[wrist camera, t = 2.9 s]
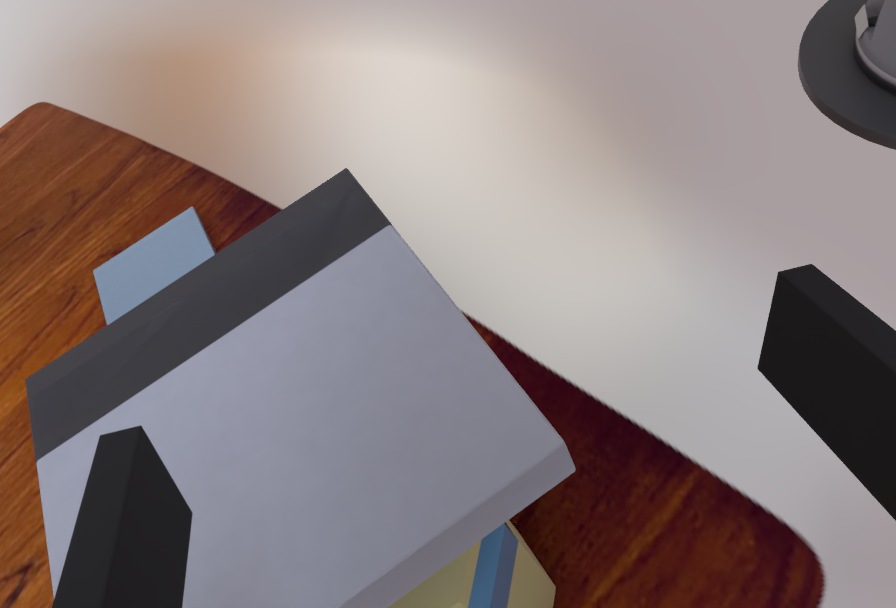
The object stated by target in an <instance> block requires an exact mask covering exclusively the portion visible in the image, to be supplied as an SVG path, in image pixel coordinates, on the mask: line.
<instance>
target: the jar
mask: <svg viewBox="0 0 896 608" xmlns="http://www.w3.org/2000/svg"><path fill="white" fill-rule="evenodd" d="M555 590H556V587H555V585H554V584H553V582H552V581H551V579H550V578H549V576H548V575H547V573H546V572H545V570H544V569H543V568H542V566H541V565H540V563H539V562H538V560H537V559H536V557H535V556H534V554H533V553H532V551H531V550H530V548H529V547H528V545H527V544H526V543H525V541H524V540H523V538H522V537H521V535H520V534H519V532H518V531H517V530H516V528H515V527H514V526H513V525H512V523H511V522H510V521H509V520H507V521H506V522H505V523H503V524H502V525H501V526H499V527H498V528H496V529H495V530H494V531H492V532H491V533H490V534H488V535H487V536H485V537H484V538H483V539H481V540H480V541H479V542H477V543H476V544H474V545H473V546H472V547H470V548H469V549H468V550H466V551H465V552H463V553H462V554H461V555H459V556H458V557H457V558H455V559H454V560H452V561H451V562H450V563H448V564H447V565H445V566H444V567H443V568H441V569H440V570H439V571H437V572H436V573H434V574H433V575H432V576H430V577H429V578H428V579H426V580H425V581H423V582H422V583H421V584H419V585H418V586H417V587H415V588H414V589H412V590H411V591H410V592H408V593H407V594H406V595H404V596H403V597H401V598H400V599H399V600H397V601H396V602H395V603H393V604H392V605H390V606H389V607H388V608H553V604H554V597H555Z"/></svg>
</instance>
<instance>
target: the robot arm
mask: <svg viewBox="0 0 896 608" xmlns="http://www.w3.org/2000/svg"><path fill="white" fill-rule="evenodd" d="M855 24H856V34H855V39H854V55H855V58H856V61H857V63H858V65H859V67H860V68H861V70H862V71H863V72H864V73H865V75H867V76H868V77H869V78H870V79H871V80H872V81H873V82H874V83H876V84H877V85H879V86H880V87H882V88H883V89H885V90H887V91H889V92H891V93H893V94H895V95H896V0H868V1H867V3H866V5H865V4H864V5H863V6H862V8H861V9H860V10H859V12H858V13H857V14H856V16H855ZM758 370H759V371H760V372H761V373H762V374H763V375H764V376H765V377H766V378H767V380H768V381H769V382H770V383H771V384H772V385H773V386H774V387H775V388H776V389H777V391H778V392H779V393H780V394H781V395H782V396H783V397H784V398H785V399H786V400H787V402H788V403H789V404H790V405H791V406H792V407H793V408H794V409H795V410H796V411H797V413H798V414H799V415H800V416H801V417H802V418H803V419H804V420H805V421H806V422H807V424H808V425H809V426H810V427H811V428H812V429H813V430H814V431H815V432H816V433H817V434H818V436H819V437H820V438H821V439H822V440H823V441H824V442H825V443H826V444H827V446H829V448H830V449H831V450H832V451H833V452H834V453H835V454H836V455H837V457H838V458H839V459H840V460H841V461H842V462H843V463H844V464H845V465H846V466H847V467H848V469H849V470H850V471H851V472H852V473H853V474H854V475H855V476H856V477H857V478H858V480H859V481H860V482H861V483H862V484H863V485H864V486H865V487H866V488H867V490H868V491H869V492H870V493H871V494H872V495H873V496H874V497H875V498H876V499H877V501H878V502H879V503H880V504H881V505H882V506H883V507H884V508H885V509H886V510H887V512H888V513H889V514H890V515H891V516H892V517H893V518H894V519H895V520H896V331H895V330H894V329H893V328H891V327H890V326H889V325H888V324H886V323H885V322H884V321H882V320H881V319H880V318H879V317H878V316H876V315H875V314H874V313H873V312H871V311H870V310H869V309H867V308H866V307H865V306H864V305H863V304H861V303H860V302H858V300H856V299H855V298H854V297H853V296H851V295H850V294H849V293H848V292H846V291H845V290H844V289H842V288H841V287H840V286H839V285H837V284H836V283H835V282H834V281H832V280H831V279H830V278H829V277H827V276H826V275H825V274H824V273H822V272H821V271H820V270H819V269H817V268H816V267H815V266H814V265H812V264H809V265H805V266H801V267H797V268H793V269H789V270H784V271H780V272H778V276H777V281H776V285H775V290H774V294H773V299H772V304H771V309H770V313H769V317H768V322H767V327H766V331H765V336H764V341H763V345H762V350H761V355H760V359H759V364H758ZM192 515H193V513H192V511H191V509H190V508H189V506H188V504H187V503H186V501H185V499H184V497H183V496H182V494H181V492H180V491H179V489H178V487H177V486H176V484H175V482H174V480H173V479H172V477H171V475H170V474H169V472H168V470H167V468H166V467H165V465H164V463H163V462H162V460H161V458H160V456H159V455H158V453H157V451H156V450H155V448H154V446H153V444H152V443H151V441H150V439H149V438H148V436H147V434H146V433H145V431H144V429H143V427H142V426H141V425H140V426H136V427H132V428H128V429H124V430H120V431H116V432H111V433H107V434H103V435H100V437H99V440H98V444H97V448H96V451H95V455H94V458H93V462H92V466H91V469H90V473H89V476H88V480H87V483H86V487H85V491H84V494H83V498H82V501H81V505H80V509H79V512H78V516H77V519H76V523H75V527H74V530H73V534H72V537H71V541H70V545H69V548H68V552H67V555H66V559H65V563H64V566H63V570H62V573H61V577H60V581H59V584H58V588H57V591H56V595H55V599H54V602H53V606H52V608H182V605H183V596H184V587H185V578H186V569H187V560H188V551H189V542H190V533H191V524H192Z"/></svg>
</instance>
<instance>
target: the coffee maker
mask: <svg viewBox="0 0 896 608" xmlns="http://www.w3.org/2000/svg"><path fill="white" fill-rule="evenodd" d="M25 381H26V389H27V397H28V404H29V412H30V420H31V428H32V436H33V444H34V451H35V459H36V463H37V470H38V478H39V486H40V494H41V501H42V509H43V517H44V525H45V532H46V540H47V548H48V556H49V564H50V571H51V579H52V587H53V595H54V599H55V595H56V591H57V588H58V584H59V581H60V577H61V573H62V570H63V566H64V563H65V559H66V555H67V552H68V548H69V545H70V541H71V537H72V534H73V530H74V527H75V523H76V519H77V516H78V512H79V509H80V505H81V501H82V498H83V494H84V491H85V487H86V483H87V480H88V476H89V473H90V469H91V466H92V462H93V458H94V455H95V451H96V448H97V444H98V440H99V437H100V435H103V434H107V433H111V432H116V431H120V430H124V429H128V428H132V427H136V426H140V425H141V426H142V427H143V429H144V431H145V433H146V434H147V436H148V438H149V439H150V441H151V443H152V444H153V446H154V448H155V450H156V451H157V453H158V455H159V456H160V458H161V460H162V462H163V463H164V465H165V467H166V468H167V470H168V472H169V474H170V475H171V477H172V479H173V480H174V482H175V484H176V486H177V487H178V489H179V491H180V492H181V494H182V496H183V497H184V499H185V501H186V503H187V504H188V506H189V508H190V509H191V511H192V513H193V515H192V524H191V533H190V542H189V551H188V560H187V569H186V578H185V587H184V596H183V605H182V608H388V607H389V606H390V605H392V604H393V603H395V602H396V601H397V600H399V599H400V598H401V597H403V596H404V595H406V594H407V593H408V592H410V591H411V590H412V589H414V588H415V587H417V586H418V585H419V584H421V583H422V582H423V581H425V580H426V579H428V578H429V577H430V576H432V575H433V574H434V573H436V572H437V571H439V570H440V569H441V568H443V567H444V566H445V565H447V564H448V563H450V562H451V561H452V560H454V559H455V558H457V557H458V556H459V555H461V554H462V553H463V552H465V551H466V550H468V549H469V548H470V547H472V546H473V545H474V544H476V543H477V542H479V541H480V540H481V539H483V538H484V537H485V536H487V535H488V534H490V533H491V532H492V531H494V530H495V529H496V528H498V527H499V526H501V525H502V524H503V523H505V522H506V521H507V520H509V519H510V518H512V517H513V516H514V515H516V514H517V513H518V512H520V511H521V510H523V509H524V508H525V507H527V506H528V505H530V504H531V503H532V502H534V501H535V500H536V499H538V498H539V497H541V496H542V495H543V494H545V493H546V492H547V491H549V490H550V489H552V488H553V487H554V486H556V485H557V484H558V483H560V482H561V481H563V480H564V479H565V478H567V477H568V476H569V475H571V474H572V473H574V472H575V470H576V468H575V465H574V463H573V461H572V458H571V456H570V454H569V451H568V449H567V447H566V444H565V442H564V440H563V439H562V438H561V437H560V435H559V434H558V433H557V432H556V430H555V429H554V428H553V427H552V425H551V424H550V423H549V422H548V420H547V419H546V418H545V417H544V415H543V414H542V413H541V412H540V410H539V409H538V408H537V407H536V405H535V404H534V403H533V401H532V400H531V399H530V398H529V396H528V395H527V394H526V393H525V391H524V390H523V389H522V388H521V386H520V385H519V384H518V383H517V381H516V380H515V379H514V378H513V376H512V375H511V374H510V373H509V371H508V370H507V369H506V368H505V366H504V365H503V364H502V363H501V361H500V360H499V359H498V358H497V356H496V355H495V354H494V352H493V351H492V350H491V349H490V347H489V346H488V345H487V344H486V342H485V341H484V340H483V339H482V337H481V336H480V335H479V334H478V332H477V331H476V330H475V329H474V327H473V326H472V325H471V324H470V322H469V321H468V320H467V319H466V317H465V316H464V315H463V314H462V312H461V311H460V310H459V309H458V307H457V306H456V305H455V304H454V302H453V301H452V300H451V298H450V297H449V296H448V295H447V293H446V292H445V291H444V290H443V288H442V287H441V286H440V285H439V283H438V282H437V281H436V280H435V278H434V277H433V276H432V275H431V273H430V272H429V271H428V270H427V268H426V267H425V266H424V265H423V263H422V262H421V261H420V260H419V258H418V257H417V256H416V255H415V253H414V252H413V251H412V250H411V248H410V247H409V246H408V244H407V243H406V242H405V241H404V240H403V238H402V237H401V236H400V234H399V233H398V232H397V231H396V229H395V228H394V227H393V226H392V224H391V223H390V222H389V221H388V219H387V218H386V217H385V215H384V214H383V213H382V212H381V210H380V209H379V208H378V207H377V205H376V204H375V203H374V202H373V200H372V199H371V198H370V197H369V195H368V194H367V193H366V192H365V190H364V189H363V188H362V186H361V185H360V184H359V183H358V181H357V180H356V179H355V178H354V176H353V175H352V174H351V173H350V171H349V170H348V169H347V168H346V169H344V170H343V171H341V172H340V173H338V174H337V175H335V176H334V177H332V178H330V179H329V180H327V181H326V182H324V183H323V184H321V185H320V186H318V187H317V188H315V189H314V190H312V191H311V192H309V193H308V194H306V195H305V196H303V197H302V198H300V199H299V200H297V201H295V202H294V203H292V204H291V205H289V206H288V207H286V208H285V209H283V210H282V211H280V212H279V213H277V214H276V215H274V216H273V217H271V218H270V219H268V220H267V221H265V222H264V223H262V224H261V225H259V226H257V227H256V228H254V229H253V230H251V231H250V232H248V233H247V234H245V235H244V236H242V237H241V238H239V239H238V240H236V241H235V242H233V243H232V244H230V245H229V246H227V247H226V248H224V249H223V250H221V251H219V252H218V253H216V254H215V255H213V256H212V257H210V258H209V259H207V260H206V261H204V262H203V263H201V264H200V265H198V266H197V267H195V268H194V269H192V270H191V271H189V272H188V273H186V274H185V275H183V276H182V277H180V278H178V279H177V280H175V281H174V282H172V283H171V284H169V285H168V286H166V287H165V288H163V289H162V290H160V291H159V292H157V293H156V294H154V295H153V296H151V297H150V298H148V299H147V300H145V301H144V302H142V303H141V304H139V305H137V306H136V307H134V308H133V309H131V310H130V311H128V312H127V313H125V314H124V315H122V316H121V317H119V318H118V319H116V320H115V321H113V322H112V323H110V324H109V325H107V326H106V327H104V328H103V329H101V330H99V331H98V332H96V333H95V334H93V335H92V336H90V337H89V338H87V339H86V340H84V341H83V342H81V343H80V344H78V345H77V346H75V347H74V348H72V349H71V350H69V351H68V352H66V353H65V354H63V355H62V356H60V357H58V358H57V359H55V360H54V361H52V362H51V363H49V364H48V365H46V366H45V367H43V368H42V369H40V370H39V371H37V372H36V373H34V374H33V375H31V376H30V377H28V378H27V379H26V380H25Z"/></svg>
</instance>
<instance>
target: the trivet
mask: <svg viewBox="0 0 896 608" xmlns="http://www.w3.org/2000/svg"><path fill="white" fill-rule="evenodd" d="M215 254H216V251H215V249H214V247H213V245H212V242H211V240H210V238H209V236H208V234H207V232H206V230H205V228H204V225H203V223H202V221H201V219H200V217H199V215H198V213H197V211H196V210H195V209H194V208H193V207H190V208H189V209H187V210H186V211H184V212H183V213H181V214H180V215H178V216H176V217H175V218H173V219H172V220H170V221H169V222H167V223H166V224H164V225H163V226H161V227H159V228H158V229H156V230H155V231H153V232H152V233H150V234H149V235H147V236H146V237H144V238H143V239H141V240H139V241H138V242H136V243H135V244H133V245H132V246H130V247H129V248H127V249H126V250H124V251H123V252H121V253H119V254H118V255H116V256H115V257H113V258H112V259H110V260H109V261H107V262H106V263H104V264H103V265H101V266H99V267H98V268H96V269H95V270H93V273H94V277H95V281H96V284H97V288H98V292H99V296H100V300H101V304H102V308H103V312H104V315H105V319H106V323H107V325H109V324H110V323H112V322H113V321H115V320H116V319H118V318H119V317H121V316H122V315H124V314H125V313H127V312H128V311H130V310H131V309H133V308H134V307H136V306H137V305H139V304H141V303H142V302H144V301H145V300H147V299H148V298H150V297H151V296H153V295H154V294H156V293H157V292H159V291H160V290H162V289H163V288H165V287H166V286H168V285H169V284H171V283H172V282H174V281H175V280H177V279H178V278H180V277H182V276H183V275H185V274H186V273H188V272H189V271H191V270H192V269H194V268H195V267H197V266H198V265H200V264H201V263H203V262H204V261H206V260H207V259H209V258H210V257H212V256H213V255H215Z"/></svg>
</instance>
